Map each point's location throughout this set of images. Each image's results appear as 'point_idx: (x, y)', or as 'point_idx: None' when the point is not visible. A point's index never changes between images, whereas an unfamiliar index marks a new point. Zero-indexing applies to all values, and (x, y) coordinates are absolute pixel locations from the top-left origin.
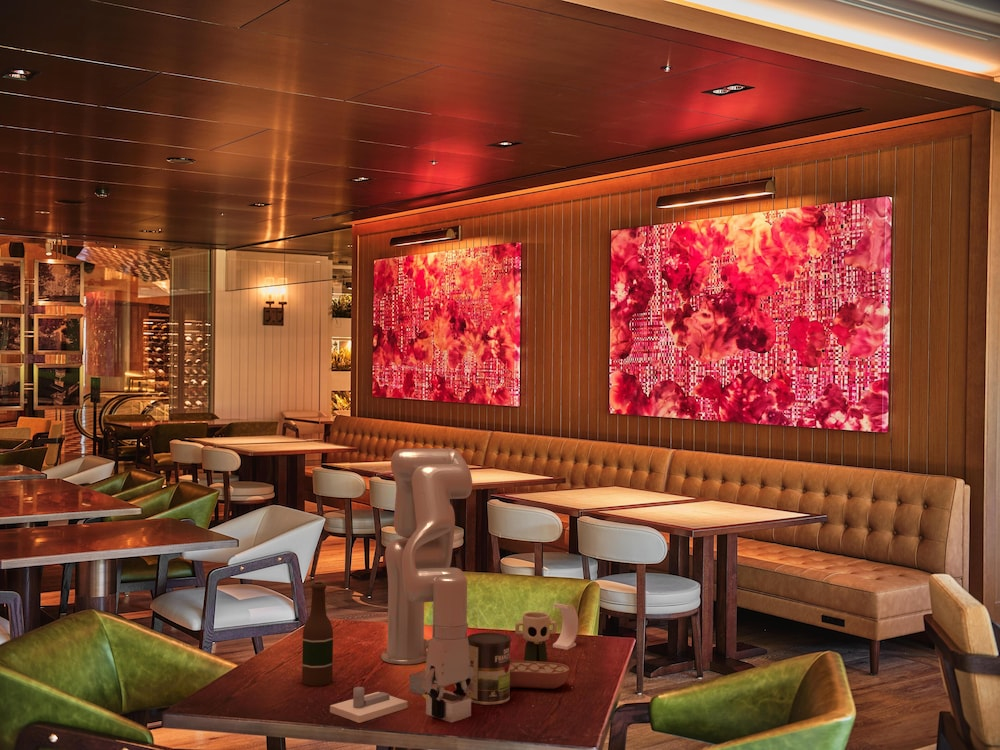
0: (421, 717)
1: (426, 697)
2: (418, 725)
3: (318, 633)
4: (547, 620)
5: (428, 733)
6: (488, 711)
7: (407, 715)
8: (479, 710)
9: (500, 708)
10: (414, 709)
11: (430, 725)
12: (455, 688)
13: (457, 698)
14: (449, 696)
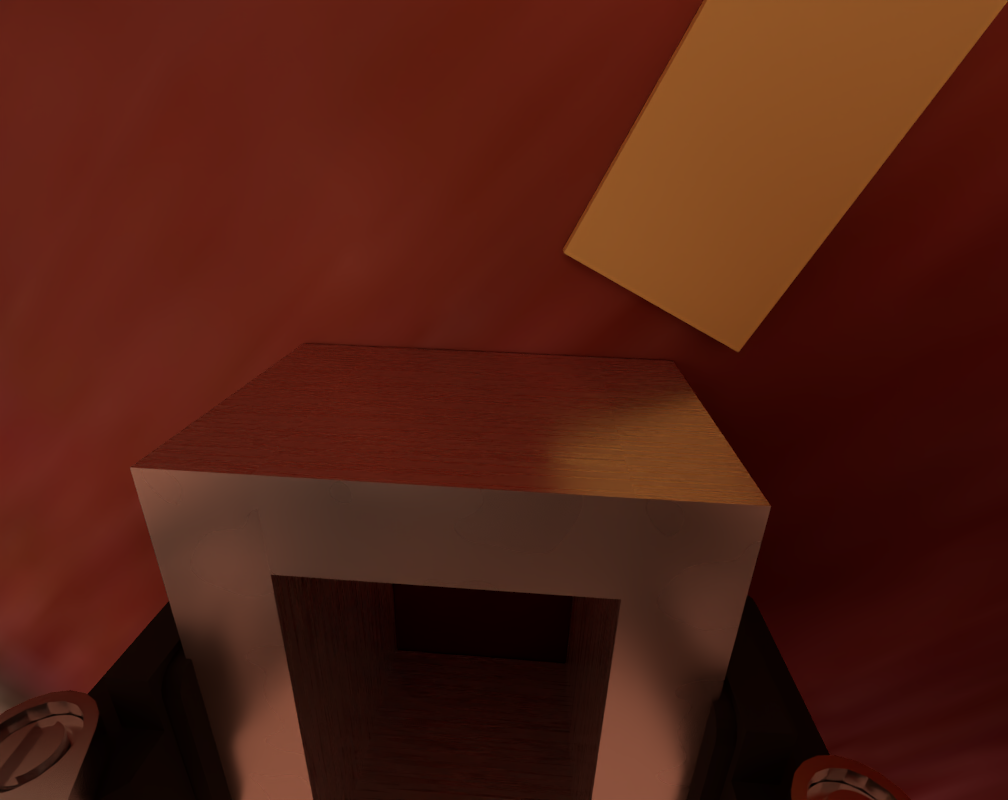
0: (191, 381)
1: (151, 461)
2: (34, 522)
3: None
4: None
5: (27, 689)
6: (850, 741)
7: (68, 183)
8: (830, 675)
9: (1004, 770)
10: (301, 40)
11: (141, 597)
12: (792, 796)
13: (583, 783)
14: (602, 641)
